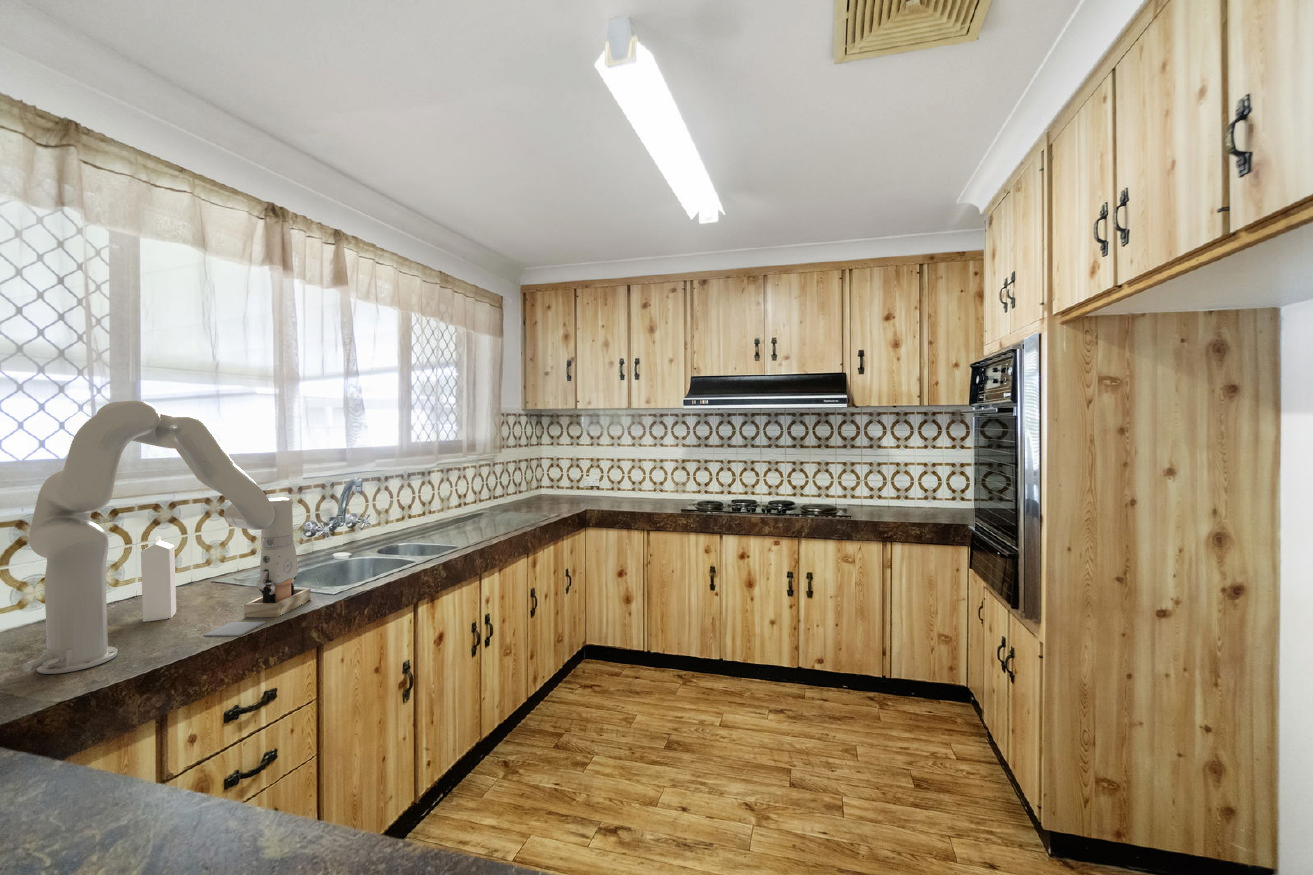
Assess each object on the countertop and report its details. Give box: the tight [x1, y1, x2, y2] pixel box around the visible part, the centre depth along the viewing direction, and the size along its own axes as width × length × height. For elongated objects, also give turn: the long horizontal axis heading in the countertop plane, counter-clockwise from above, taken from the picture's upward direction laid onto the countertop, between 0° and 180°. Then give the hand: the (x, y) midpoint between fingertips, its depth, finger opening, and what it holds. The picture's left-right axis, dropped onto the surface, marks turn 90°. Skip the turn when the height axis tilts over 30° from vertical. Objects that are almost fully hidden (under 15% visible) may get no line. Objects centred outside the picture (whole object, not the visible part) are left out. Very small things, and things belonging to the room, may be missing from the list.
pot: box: [267, 578, 293, 603], centre depth 165 cm, size 7×7×8 cm
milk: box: [140, 534, 177, 623], centre depth 158 cm, size 6×6×22 cm
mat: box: [203, 621, 266, 637], centre depth 148 cm, size 9×9×1 cm
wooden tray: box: [243, 587, 312, 618], centre depth 165 cm, size 15×9×4 cm, turn 0°
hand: (279, 603), depth 165 cm, fingers open, 7 cm apart
